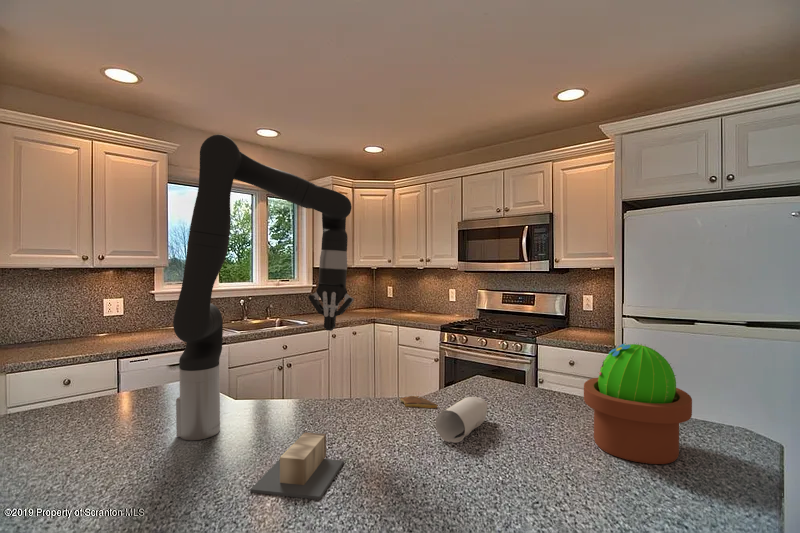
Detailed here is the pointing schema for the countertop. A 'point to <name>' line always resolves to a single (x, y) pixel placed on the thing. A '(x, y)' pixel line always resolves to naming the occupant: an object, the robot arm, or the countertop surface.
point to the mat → (309, 490)
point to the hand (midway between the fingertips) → (329, 330)
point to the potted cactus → (637, 406)
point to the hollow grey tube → (461, 418)
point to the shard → (417, 402)
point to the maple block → (302, 458)
